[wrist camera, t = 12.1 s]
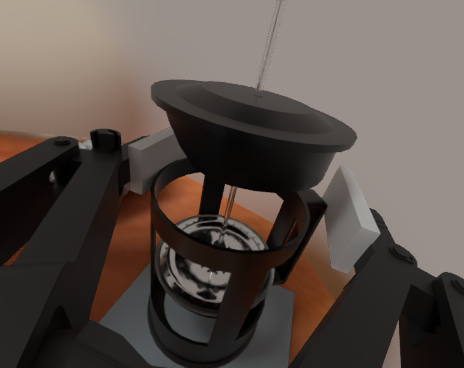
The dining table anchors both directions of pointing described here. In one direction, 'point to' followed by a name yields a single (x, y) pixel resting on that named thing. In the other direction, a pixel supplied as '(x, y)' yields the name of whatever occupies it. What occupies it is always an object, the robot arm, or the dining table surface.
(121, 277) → the dining table surface
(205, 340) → the slate mat
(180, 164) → the french press
